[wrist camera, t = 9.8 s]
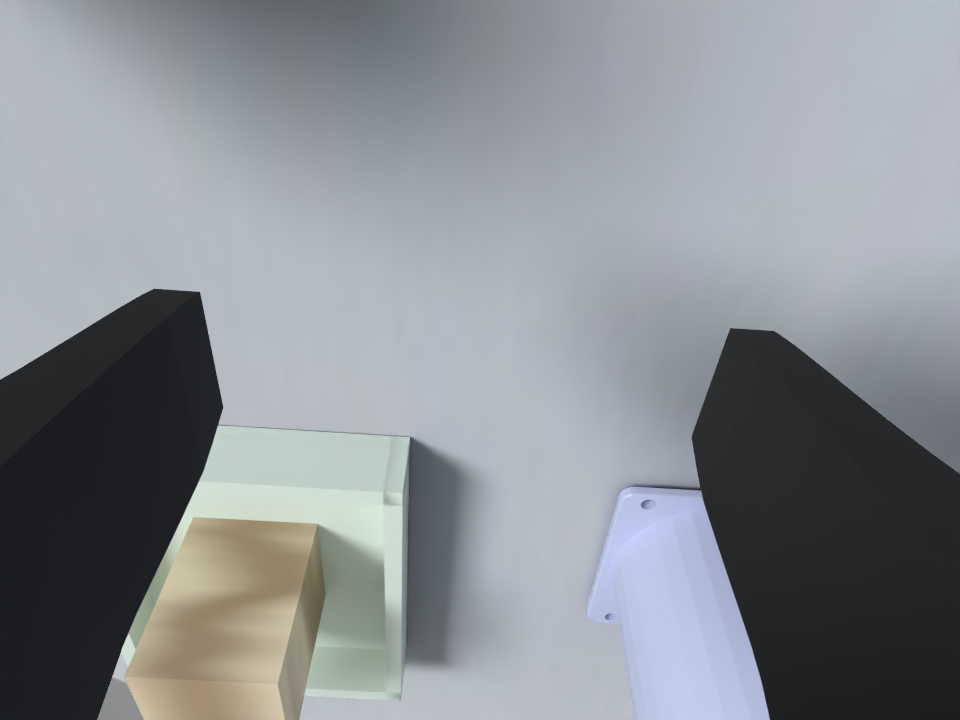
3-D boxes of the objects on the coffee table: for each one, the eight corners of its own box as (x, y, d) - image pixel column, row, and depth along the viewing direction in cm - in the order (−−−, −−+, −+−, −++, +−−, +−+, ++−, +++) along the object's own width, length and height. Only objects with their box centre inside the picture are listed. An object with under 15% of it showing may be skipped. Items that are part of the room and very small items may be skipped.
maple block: (317, 523, 25) (277, 684, 21) (325, 595, 28) (291, 752, 23) (193, 517, 25) (123, 677, 21) (213, 589, 28) (156, 746, 23)
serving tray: (410, 437, 24) (402, 493, 22) (406, 645, 31) (400, 700, 29) (79, 416, 23) (41, 471, 21) (160, 632, 31) (137, 687, 29)
